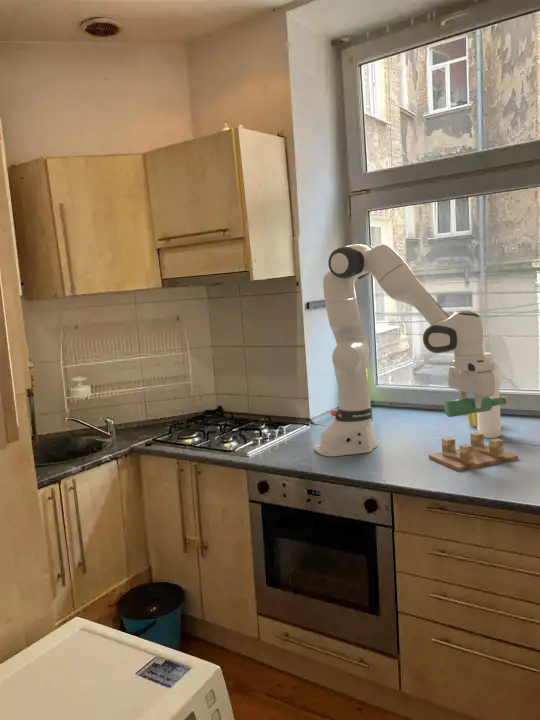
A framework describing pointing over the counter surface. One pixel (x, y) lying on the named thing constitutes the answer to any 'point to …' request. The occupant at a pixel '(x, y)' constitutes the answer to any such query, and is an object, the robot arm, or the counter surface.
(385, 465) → the counter surface
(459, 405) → the bottle
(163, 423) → the counter surface
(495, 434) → the bottle
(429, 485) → the counter surface
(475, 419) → the plant pot
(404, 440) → the counter surface
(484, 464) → the bottle rest
